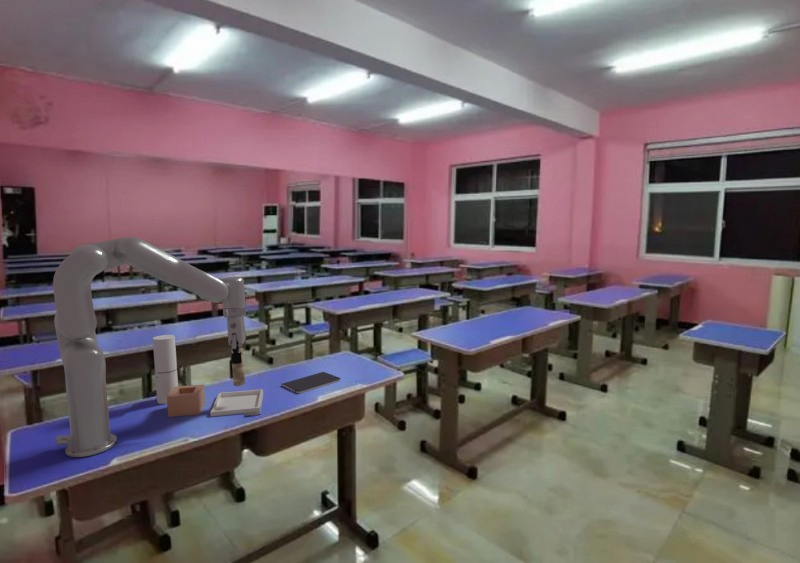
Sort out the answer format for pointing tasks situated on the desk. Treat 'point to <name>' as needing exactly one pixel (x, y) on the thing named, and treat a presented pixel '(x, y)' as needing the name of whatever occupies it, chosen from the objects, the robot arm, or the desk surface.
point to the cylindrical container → (165, 366)
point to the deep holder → (186, 400)
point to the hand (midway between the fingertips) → (237, 360)
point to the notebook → (311, 382)
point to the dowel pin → (238, 371)
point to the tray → (238, 403)
